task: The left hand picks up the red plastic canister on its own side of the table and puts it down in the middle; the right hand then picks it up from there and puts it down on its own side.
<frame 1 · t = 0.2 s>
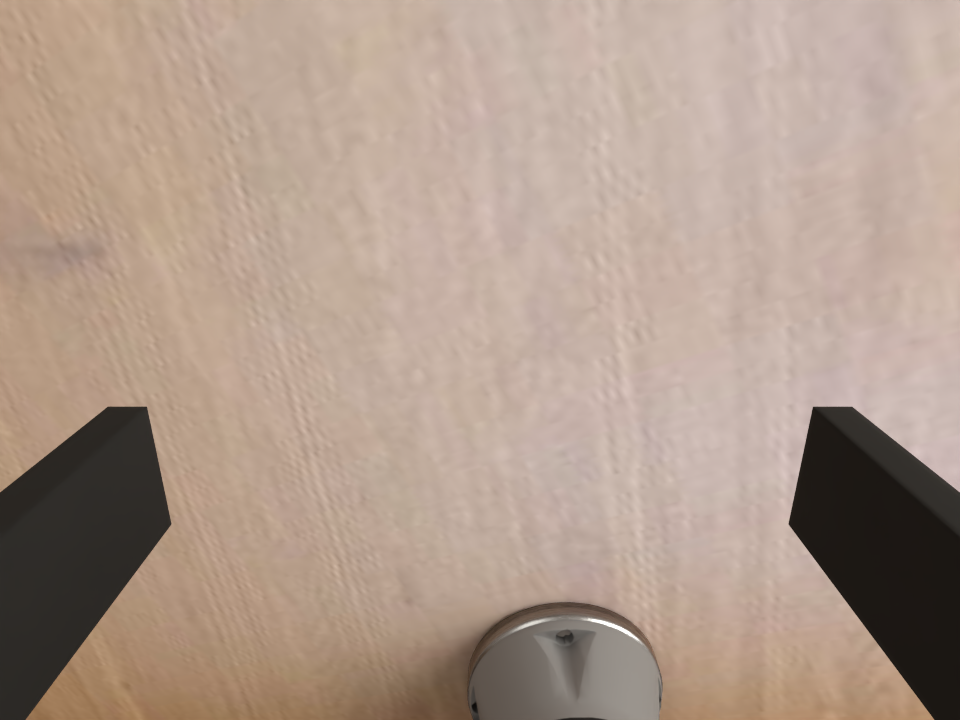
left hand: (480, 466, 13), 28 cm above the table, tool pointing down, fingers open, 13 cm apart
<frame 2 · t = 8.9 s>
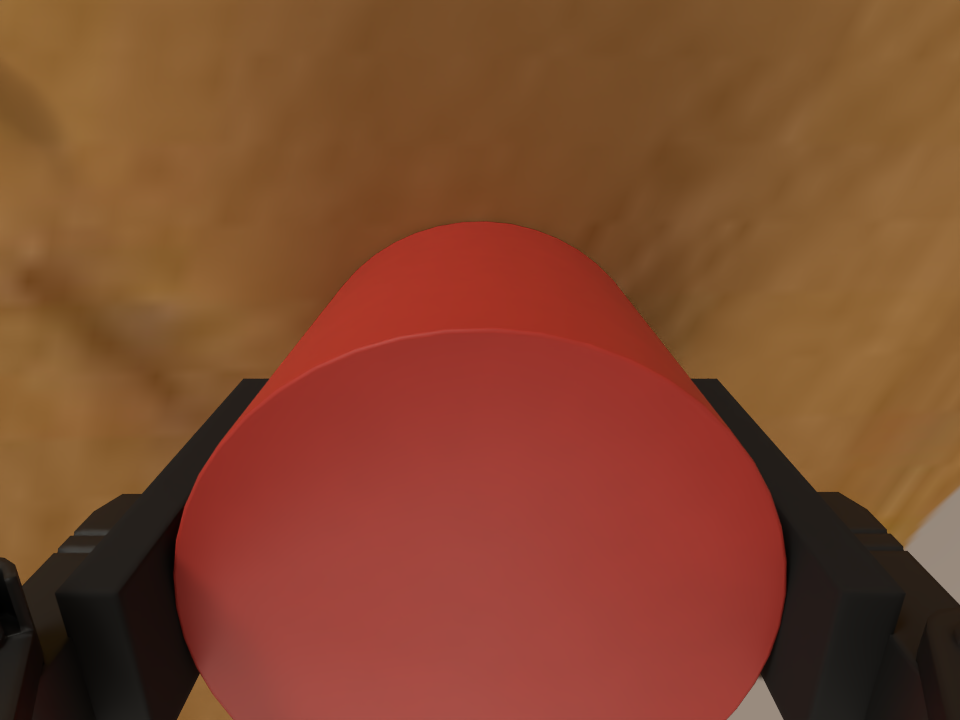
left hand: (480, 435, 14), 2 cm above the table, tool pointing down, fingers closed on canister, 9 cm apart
canister: (480, 391, 16), on the table, touching left hand
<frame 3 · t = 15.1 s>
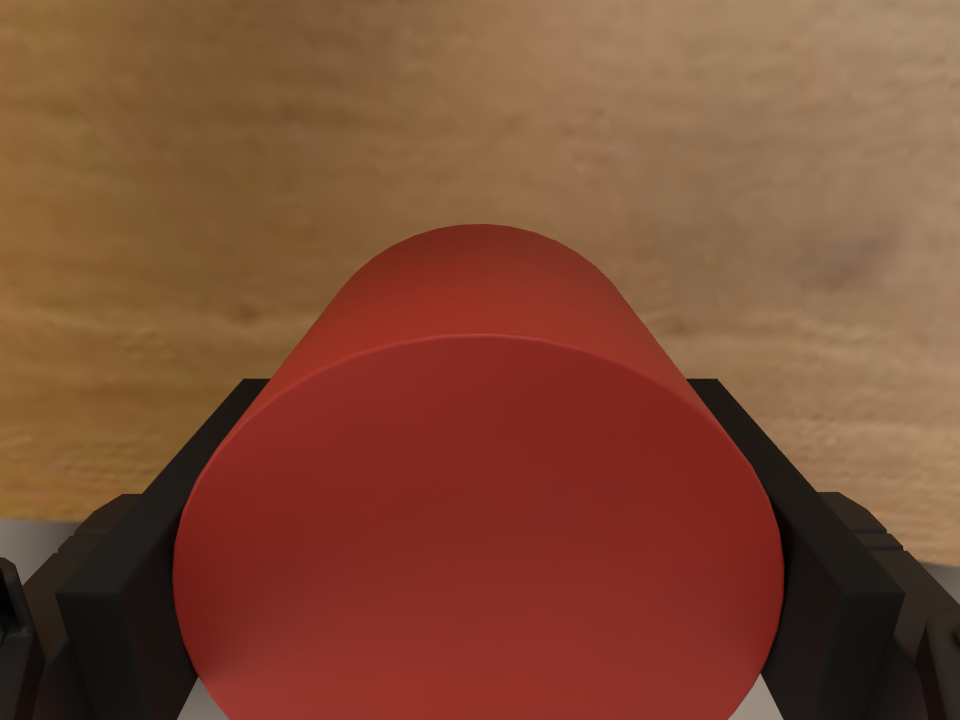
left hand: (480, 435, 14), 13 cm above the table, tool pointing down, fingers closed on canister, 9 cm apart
canister: (479, 393, 16), point 11 cm above the table, touching left hand
when the left hand's fingers open (3 cm above the table, at t = 21.6 s): canister drops 1 cm, on the table.
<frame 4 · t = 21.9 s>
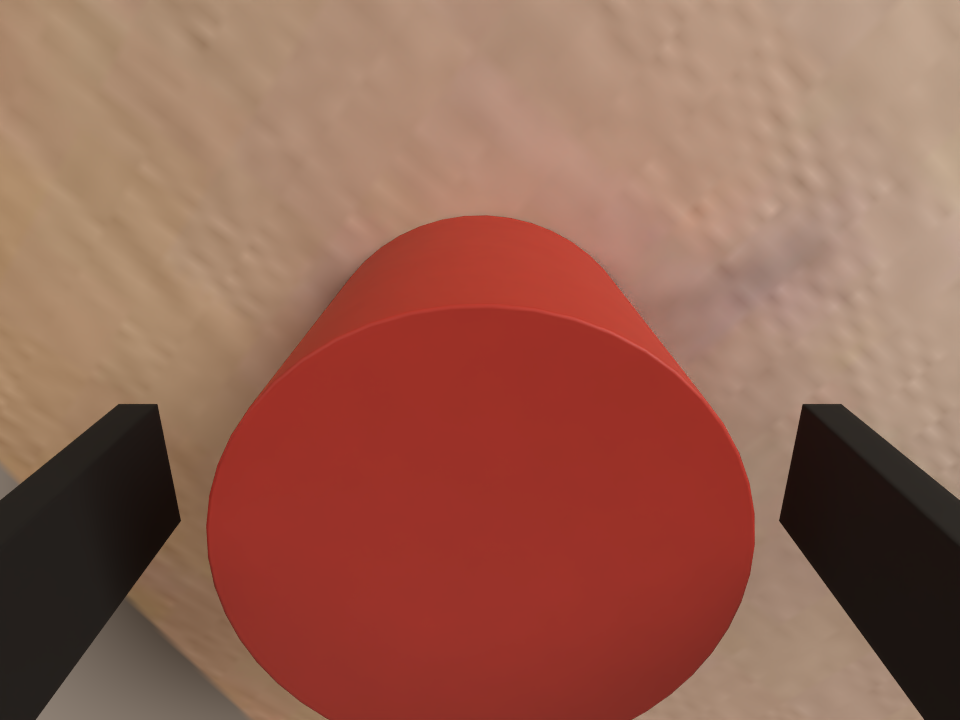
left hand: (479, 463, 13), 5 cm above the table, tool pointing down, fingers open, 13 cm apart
canister: (480, 375, 17), on the table
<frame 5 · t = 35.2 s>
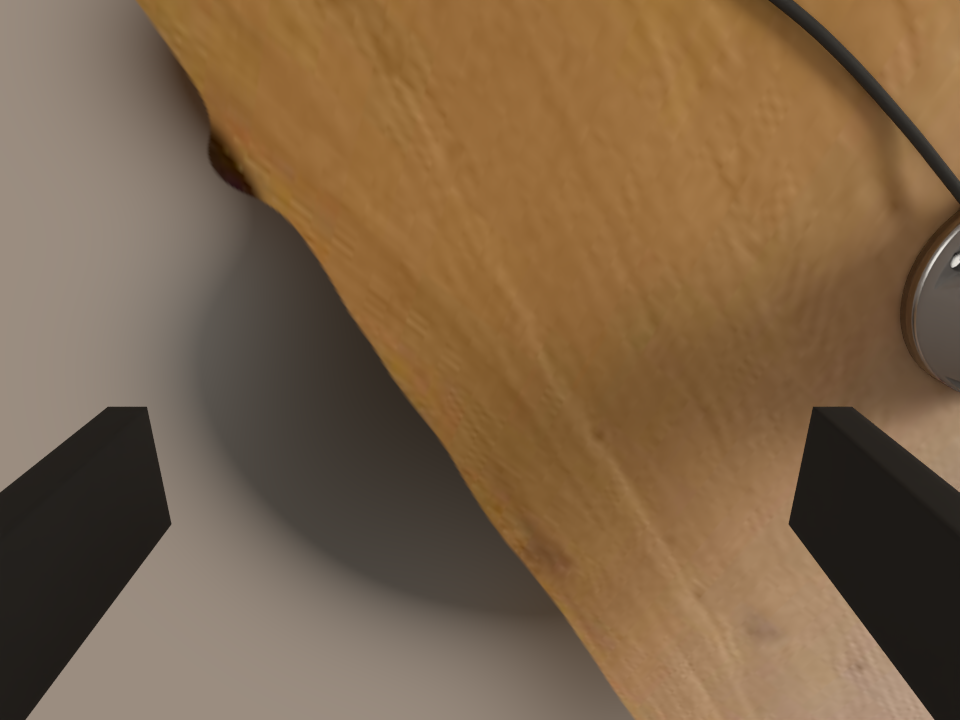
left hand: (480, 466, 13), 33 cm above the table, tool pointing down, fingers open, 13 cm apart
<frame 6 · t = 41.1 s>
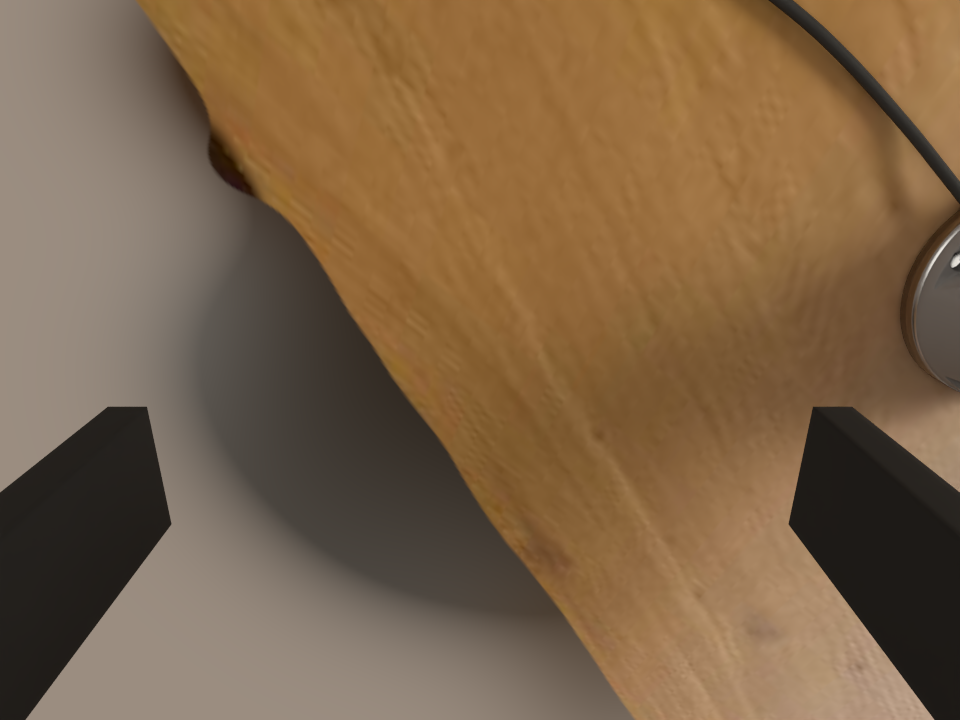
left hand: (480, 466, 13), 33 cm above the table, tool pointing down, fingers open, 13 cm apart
when the right hand's fingers open (3 cm above the table, at t = 47.0 s): canister drops 1 cm, on the table.
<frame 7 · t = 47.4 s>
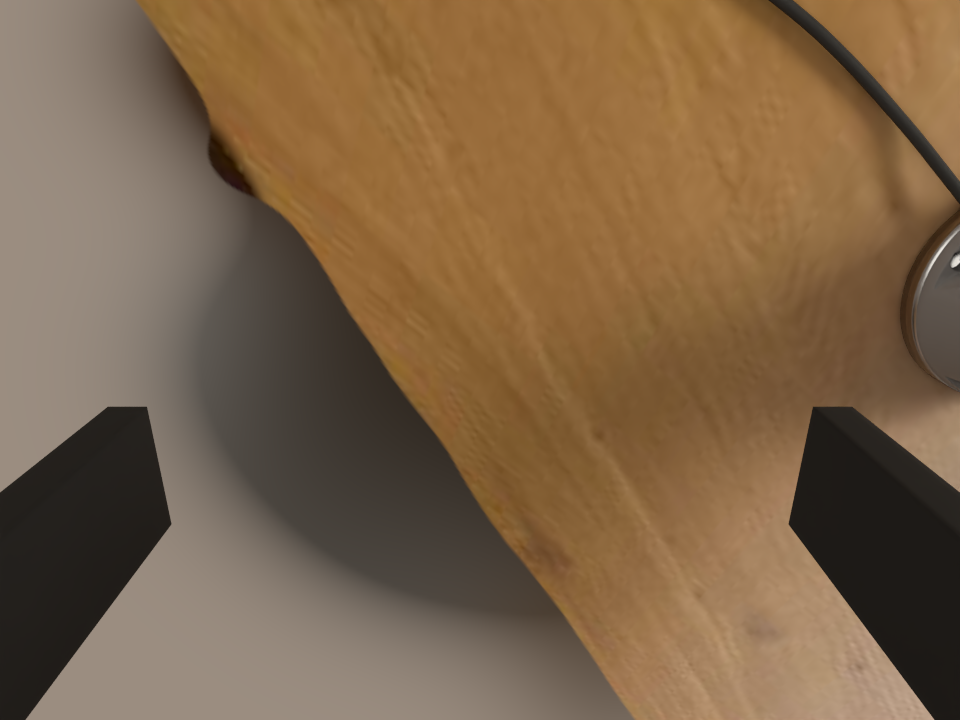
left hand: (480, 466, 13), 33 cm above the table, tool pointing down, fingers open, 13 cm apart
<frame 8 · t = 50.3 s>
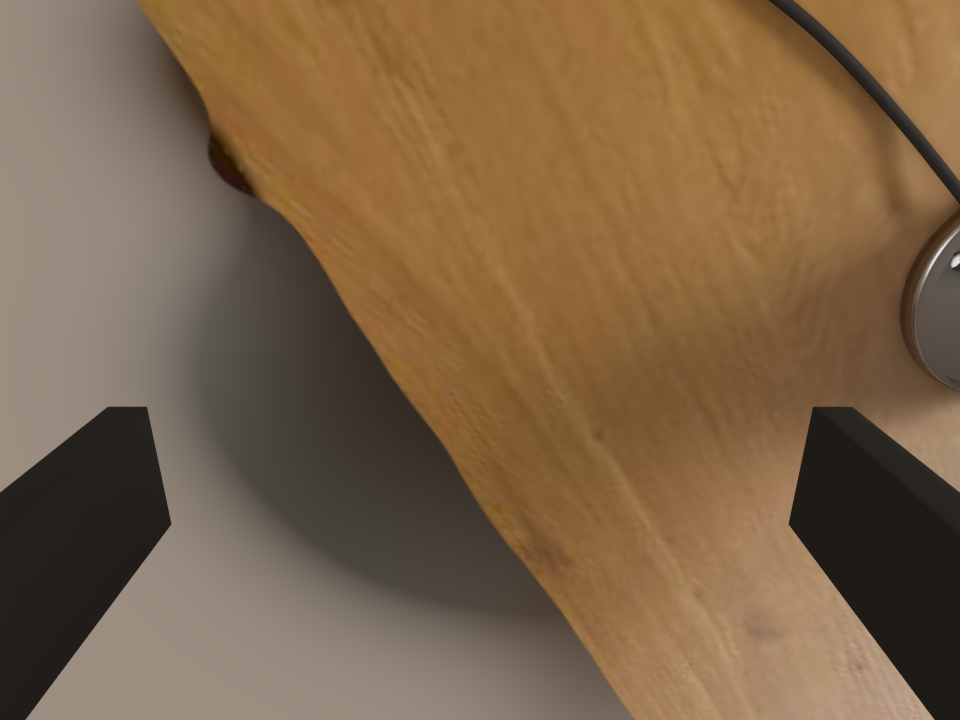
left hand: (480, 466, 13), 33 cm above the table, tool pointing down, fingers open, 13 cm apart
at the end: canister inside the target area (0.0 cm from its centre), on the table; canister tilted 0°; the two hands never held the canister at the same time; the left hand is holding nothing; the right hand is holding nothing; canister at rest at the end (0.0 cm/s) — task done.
